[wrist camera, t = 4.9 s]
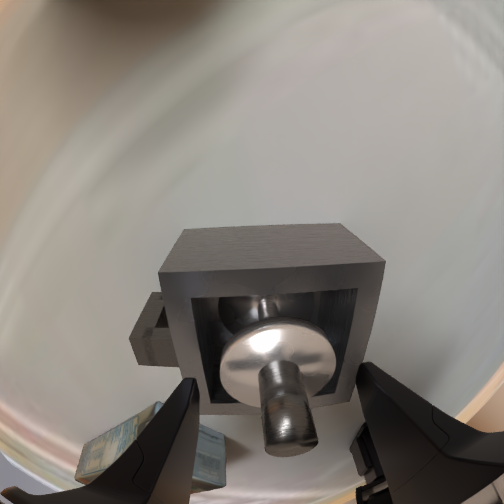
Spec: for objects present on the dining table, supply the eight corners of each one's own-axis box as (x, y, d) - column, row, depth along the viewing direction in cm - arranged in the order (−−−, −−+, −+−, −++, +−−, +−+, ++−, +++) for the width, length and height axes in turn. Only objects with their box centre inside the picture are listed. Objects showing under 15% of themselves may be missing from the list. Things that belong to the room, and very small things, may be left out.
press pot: (340, 223, 14) (385, 261, 9) (326, 343, 17) (349, 401, 12) (145, 231, 13) (104, 273, 9) (170, 351, 16) (154, 411, 12)
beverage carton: (231, 434, 21) (232, 495, 15) (134, 468, 25) (127, 506, 19) (158, 396, 18) (143, 465, 12) (83, 441, 22) (69, 480, 16)
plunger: (314, 255, 14) (393, 382, 6) (307, 334, 15) (350, 461, 7) (214, 260, 13) (192, 405, 5) (223, 339, 15) (218, 476, 7)
